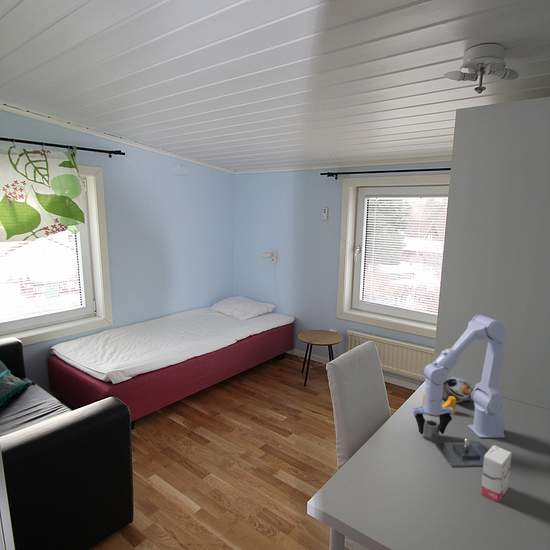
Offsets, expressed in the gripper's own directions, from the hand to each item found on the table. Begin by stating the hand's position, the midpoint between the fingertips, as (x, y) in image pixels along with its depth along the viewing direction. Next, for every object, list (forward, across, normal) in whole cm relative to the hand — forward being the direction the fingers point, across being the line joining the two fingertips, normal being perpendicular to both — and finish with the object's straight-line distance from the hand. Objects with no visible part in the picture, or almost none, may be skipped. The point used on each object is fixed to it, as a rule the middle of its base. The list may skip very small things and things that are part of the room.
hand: (431, 432), depth 135 cm
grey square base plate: (+1, -7, +11) cm, 13 cm away
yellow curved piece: (+2, -11, -17) cm, 20 cm away
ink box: (+2, -6, +28) cm, 29 cm away
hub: (+1, 0, 0) cm, 1 cm away
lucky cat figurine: (+2, -24, -27) cm, 36 cm away
